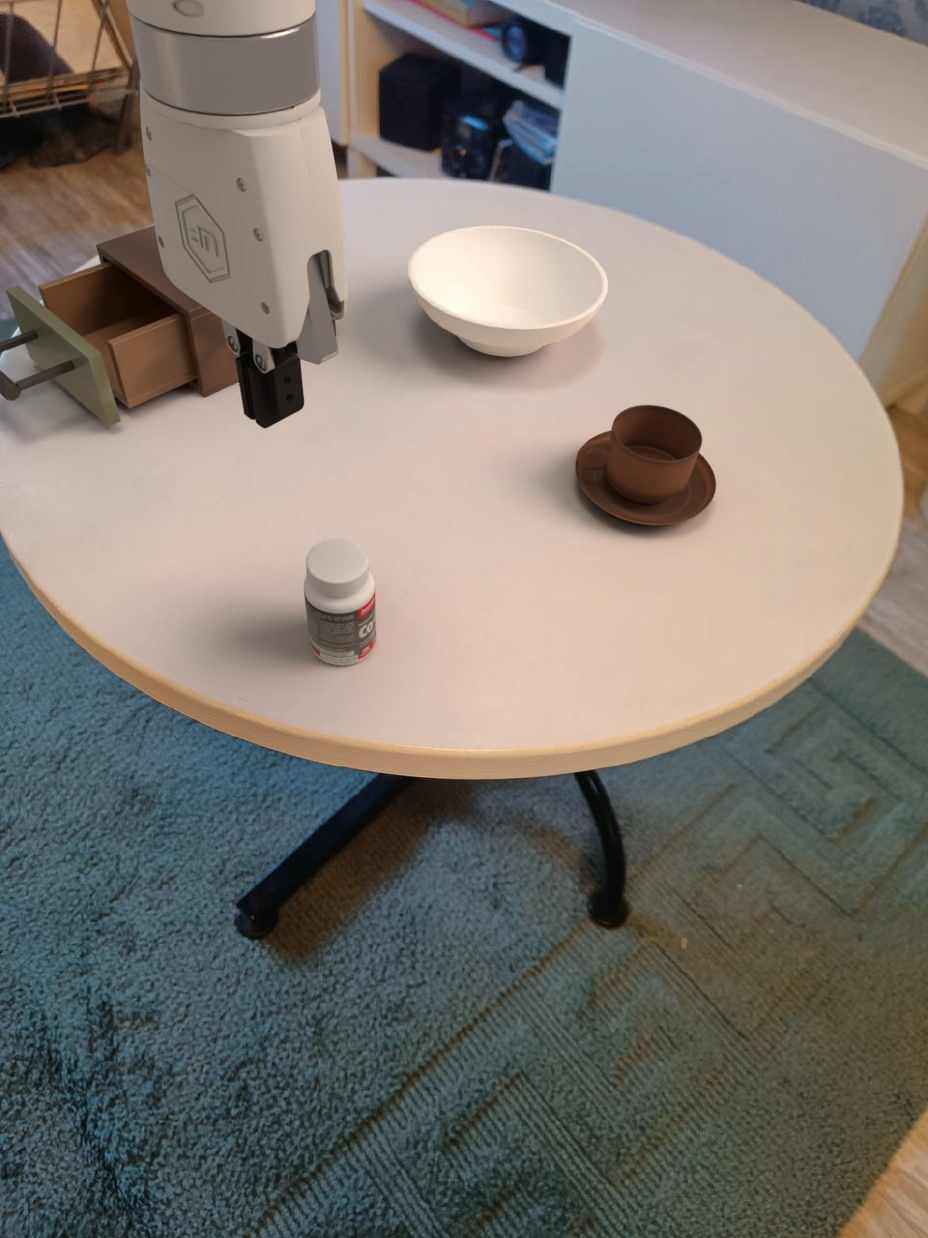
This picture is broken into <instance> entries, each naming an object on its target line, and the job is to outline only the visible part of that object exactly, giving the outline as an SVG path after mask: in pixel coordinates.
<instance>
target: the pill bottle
mask: <svg viewBox="0 0 928 1238" xmlns="http://www.w3.org/2000/svg"><path fill="white" fill-rule="evenodd" d="M305 567H306V568H305V569H306V571H305V572H306V575H305V578H304V581H303V597H304V605H305V613H306V622H307V632H308V640H309V644H310V648H311V650H312V653H313V654H314V655H315V656H316V657H317V658H318V659H319V660H321V661H323V662H324V663H328V664H331V665H333V666H344V667H345V666H352V665H355V664H358V663H360V662H362V661H363V660H365V659H366V658H367V657H369V655H370V654H371V653H372V652H373V650H374V648H375V645H376V641H377V615H376V614H377V613H376V612H377V611H376V606H377V604H376V582H375V578H374V576H373V574H372V572H371V571H370V564H369V556H368V553H367V552H366V550H365V549H364V548H363V547H362V545H360V544H358V542H355V541H352V540H350V539H345V538H330V539H326V540H323V541H321V542H318V543H317V544H316V545H313V547H312V548H311V549H310V550H309V552H308V553H307V555H306V559H305Z"/></svg>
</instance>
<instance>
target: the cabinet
mask: <svg viewBox="0 0 928 1238" xmlns="http://www.w3.org/2000/svg"><path fill="white" fill-rule="evenodd" d="M95 247H96V251H97V255H98V258H99V262H100V264H102V263H104V262H107V261H110V262H111V263H113V264H114V265H116V266H117V267H118V268H120V269H121V270H122V271H124V272H125V273H127V274H128V275H129V276H131V277H132V278H133V279H135V280H136V281H138V282H139V283H140V284H142V285H143V286H144V287H146V288H147V289H148V290H150V291H151V292H153V293H154V294H155V295H157V296H158V297H159V298H161V299H162V300H164V301H165V302H166V303H168V304H169V305H170V306H172V307H173V308H175V309H176V310H177V311H179V312H180V313H181V314H183V315H184V316H186V317H185V319H186V324H187V329H188V334H189V339H190V344H191V350H192V355H193V360H194V365H195V370H196V375H197V379H194V380H192V381H190V382H188V383H186V384H187V385H189V386H190V387H191V388H193V389H194V391H196V392H197V393H199V394H200V395H201V396H203V397H204V398H206V397H208V396H211V395H213V394H215V393H217V392H219V391H222V390H224V389H226V388H228V387H230V386H232V385H234V384H236V383H239V379H238V373H237V367H236V361H235V358H237V357H239V356H240V354H238V355H236V354H234V353H233V352H232V351H231V350H230V348H229V346H228V344H227V342H226V338H225V334H224V330H223V326H222V322H221V318H220V317H219V316H217V315H216V314H214V313H213V312H211V311H210V310H208V309H207V308H205V307H204V306H202V305H201V304H199V303H198V302H197V301H195V300H194V299H192V298H191V297H189V296H188V295H186V294H185V293H184V292H182V291H181V290H180V289H178V288H177V287H176V286H175V285H174V284H173V283H172V282H171V281H170V279H169V278H168V277H167V275H166V274H165V272H164V269H163V265H162V261H161V257H160V252H159V248H158V243H157V237H156V232H155V226H154V224H153V225H151V226H148V227H144V228H141V229H138V230H136V231H133V232H129V233H127V234H123V235H121V236H118V237H114V238H112V239H108V240H105V241H103V242H99V243H96V244H95ZM332 323H333V327H334V332H335V337H336V338H337V329H336V320H332Z"/></svg>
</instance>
